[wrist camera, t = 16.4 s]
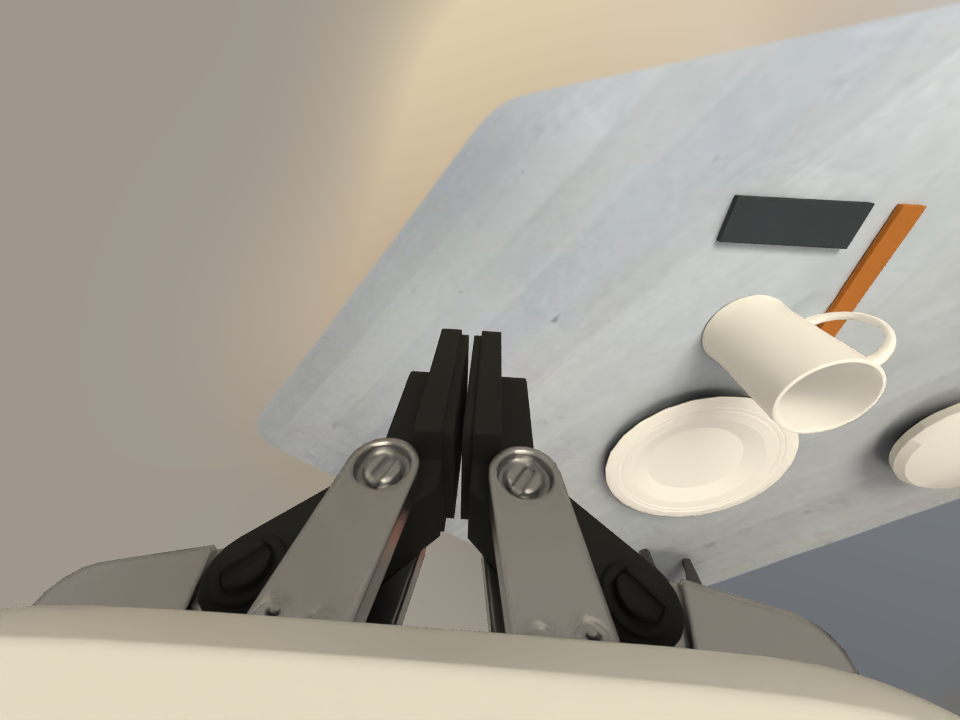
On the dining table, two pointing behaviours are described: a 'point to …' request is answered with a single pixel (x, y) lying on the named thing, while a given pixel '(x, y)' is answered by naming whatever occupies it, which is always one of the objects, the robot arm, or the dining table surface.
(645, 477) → the plate
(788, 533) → the dining table surface
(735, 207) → the grey and orange bars
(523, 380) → the robot arm
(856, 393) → the mug
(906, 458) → the white knobbed pot lid
